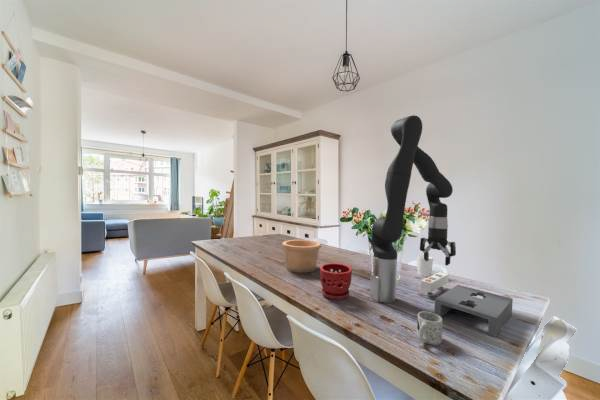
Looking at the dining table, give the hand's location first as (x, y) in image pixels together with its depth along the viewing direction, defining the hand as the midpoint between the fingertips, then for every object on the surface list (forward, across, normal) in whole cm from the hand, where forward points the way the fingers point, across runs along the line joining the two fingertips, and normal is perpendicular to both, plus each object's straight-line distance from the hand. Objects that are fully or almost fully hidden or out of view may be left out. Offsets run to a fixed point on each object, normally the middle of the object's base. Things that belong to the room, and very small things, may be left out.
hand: (436, 262), depth 115 cm
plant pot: (+13, -25, -40) cm, 48 cm away
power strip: (+13, 0, 0) cm, 13 cm away
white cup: (+14, -14, +22) cm, 29 cm away
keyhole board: (+13, +18, -12) cm, 25 cm away
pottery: (+13, -63, -25) cm, 69 cm away
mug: (+13, +14, -43) cm, 47 cm away
